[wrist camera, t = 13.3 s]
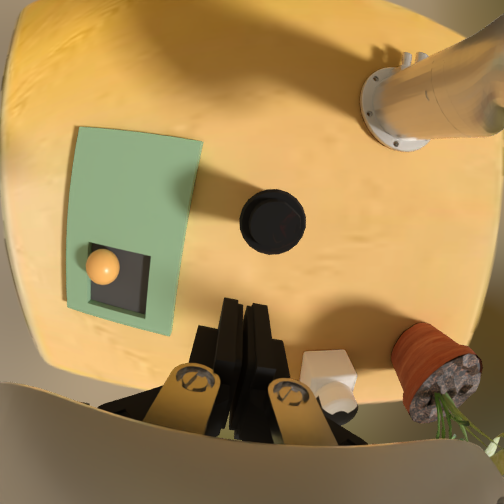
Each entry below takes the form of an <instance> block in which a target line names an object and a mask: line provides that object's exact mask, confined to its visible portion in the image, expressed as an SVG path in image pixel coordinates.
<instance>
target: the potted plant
mask: <svg viewBox="0 0 504 504" xmlns="http://www.w3.org/2000/svg"><path fill="white" fill-rule="evenodd" d="M391 362H392V364H393V366H394V369H395V371H396V373H397V376H398V378H399V381H400V383H401V386H402V388H403V391H404V393H403V404H404V406H405V407H406V409H407V411H408V413H409V415H410V416H411V418H412V420H413V421H415V422H418V423H430V422H433V421H436V420H438V431H437V435H436V439H439V428H440V427H439V426H440V419H441V420H442V426H443V427H442V439H445V427H444V420H443V417H445V416H446V418H447V421H448V425H449V439H454V438H455V437H456V435H455V434H454V436H453V438H452V433H451V421H450V419H452V420H454V421H456V422H457V423H458V424H459V426H460V428H461V430H462V432H463V434H464V437H465V439H466V441H467V442H468V438H467V435H466V431H465V429H466V430H467V431H468V432H469V433H471V434H472V435H473V436H474V437H475V438H477V439H478V440H479V441H480V442H481V443H482V444H484V443H483V442H482V441H481V440H480V439H479V438H478V437H477V436H476V435H474V434H473V433H472V432H471V431H470V430H469V429H468V428H467V426H469V425H470V426H471V427H472V428H474V429H475V430H476V431H478V432H479V433H480V434H482V435H483V436H485V437H486V438H488V439H489V440H491V439H490V438H489V437H488V436H487V435H485V434H484V433H483V432H482V431H480V430H479V429H478V428H477V427H476V426H474V425H473V424H472V423H471V422H470V421H469V420H468V419H467V418H466V417H465V416H464V415H463V414H462V413H461V412H460V411H459V410H458V409H457V408H458V407H459V406H460V405H461V404H462V403H463V402H464V401H465V400H466V399H467V398H468V397H469V396H471V395H472V394H473V393H474V392H475V391H476V389H477V387H478V385H479V382H480V377H481V373H482V368H483V367H482V361H481V359H480V358H479V357H478V356H477V355H476V354H475V353H474V352H473V351H472V350H471V349H470V348H469V347H468V346H464V345H459V344H458V343H456V342H455V341H453V340H452V339H451V338H449V337H448V336H446V335H445V334H443V333H442V332H441V331H439V330H438V329H436V328H435V327H433V326H432V325H431V324H428V323H417V324H415V325H414V326H412V327H410V328H409V329H408V330H406V331H405V332H404V333H403V334H402V335H401V337H400V338H399V339H398V341H397V343H396V344H395V346H394V348H393V351H392V354H391ZM450 413H452V414H453V416H454V418H453V417H452V415H451V414H450ZM461 419H463V420H464V421H462V420H461ZM500 437H504V433H502V434H500V435H499V436H497V437H496V438H495V439H494V440H491V441H492V442H491V443H490V444H489V446H488V447H487V446H486V445H485V444H484V445H485V446H486V447H487V448H486V450H485V453H486V454H487V455H488V456H489V457H490V459H491V460H492V461H493V463H494V464H495V466H496V467H497V469H498V470H499V472H500V473H501V475H502V476H503V474H504V448H503V449H502V450H500V451H499V452H497V453H495V450H496V448H497V446H499V445H498V441H499V439H500ZM460 440H462V441H463V439H460ZM499 447H500V446H499ZM494 453H495V454H494Z"/></svg>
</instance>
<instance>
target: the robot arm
mask: <svg viewBox="0 0 504 504" xmlns="http://www.w3.org/2000/svg"><path fill="white" fill-rule="evenodd" d="M411 60H412V55H411V54H410V53H407V52H404V53H403V54H402V65H400V66H399V67H397V68H396V67H386V68H382V69H379V70H377V71H376V72H374V73H373V74H371V75H370V76H369V77H368V78H367V80H366V81H365V82H364V85H363V87H362V89H361V95H360V107H361V113H362V116H363V119H364V122H365V124H366V125H367V127H368V129H369V131H370V132H371V133H372V134H373V136H374V137H375V138H376V139H377V140H378V141H379V142H380V143H382V144H383V145H385V146H386V147H388V148H390V149H393V150H396V151H400V152H410V151H416V150H418V149H421V148H422V147H424V146H425V145H426V144H427V143H428V142H429V141H430V140H431V139H446V138H477V137H489V136H492V135H495V134H497V133H499V132H500V131H501V130H503V129H504V14H503V15H501V16H500V17H498V18H497V19H496V20H494V21H493V22H492V23H490V24H489V25H488V26H486V27H485V28H483V29H482V30H480V31H479V32H477V33H476V34H474V35H472V36H471V37H469V38H467V39H465V40H463V41H461V42H459V43H457V44H455V45H453V46H450V47H448V48H446V49H444V50H442V51H440V52H438V53H436V54H433V55H431V56H429V57H428V55H427V54H425V53H422V52H417V53H416V59H415V64H413V65H411ZM410 65H411V66H410ZM374 79H375V81H374ZM367 113H368V114H369V116H368V115H367ZM393 143H394V145H393ZM229 411H230V417H229V430H234V439H237V440H231V439H223V438H217V436H218V435H219V434H220V430H221V429H224V428H225V425H226V422H227V418H228V415H229ZM238 440H242V441H238ZM0 504H504V478H503V476H502V475H501V473H500V472H499V470H498V469H497V467H496V466H495V464H494V463H493V461H492V460H491V459H490V457H489V456H488V455H487V454H486V453H485V451H484V450H482V448H480V447H479V446H478V445H476V444H473V443H470V442H467V441H462V440H456V439H428V440H419V441H408V442H398V443H388V444H372V445H368V444H367V443H366V442H365V441H364V440H362V439H361V438H359V437H358V436H356V435H354V434H352V433H351V432H350V431H348V430H346V429H345V428H343V427H341V426H340V425H338V424H337V423H335V422H334V421H332V420H330V419H329V418H327V417H326V416H324V414H323V412H322V410H321V408H320V406H319V404H318V402H317V400H316V398H315V396H314V394H313V392H312V390H311V389H310V388H309V387H308V386H307V385H306V384H304V383H302V382H300V381H298V380H295V379H290V374H289V369H288V364H287V359H286V354H285V348H284V343H283V341H282V340H276V339H272V335H271V328H270V321H269V314H268V307H267V305H261V304H256V303H253V304H252V306H247V307H246V311H245V315H244V319H243V305H242V304H238V300H235V299H230V298H225V297H224V301H223V306H222V311H221V316H220V321H219V326H218V329H215V328H210V327H205V326H200V325H199V326H198V329H197V333H196V336H195V340H194V344H193V348H192V352H191V355H190V359H189V363H185V364H181V365H179V366H177V367H175V368H174V369H173V370H172V372H171V373H170V375H169V377H168V378H167V380H166V382H165V383H164V385H163V386H160V387H157V388H154V389H151V390H148V391H145V392H141V393H138V394H135V395H132V396H129V397H125V398H122V399H119V400H115V401H112V402H108V403H105V404H103V405H101V406H99V407H98V408H95V407H92V406H90V404H89V403H83V402H78V401H75V400H72V399H69V398H67V397H64V396H61V395H58V394H56V393H52V392H50V391H46V390H43V389H40V388H37V387H33V386H29V385H25V384H20V383H13V382H5V381H0Z"/></svg>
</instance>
